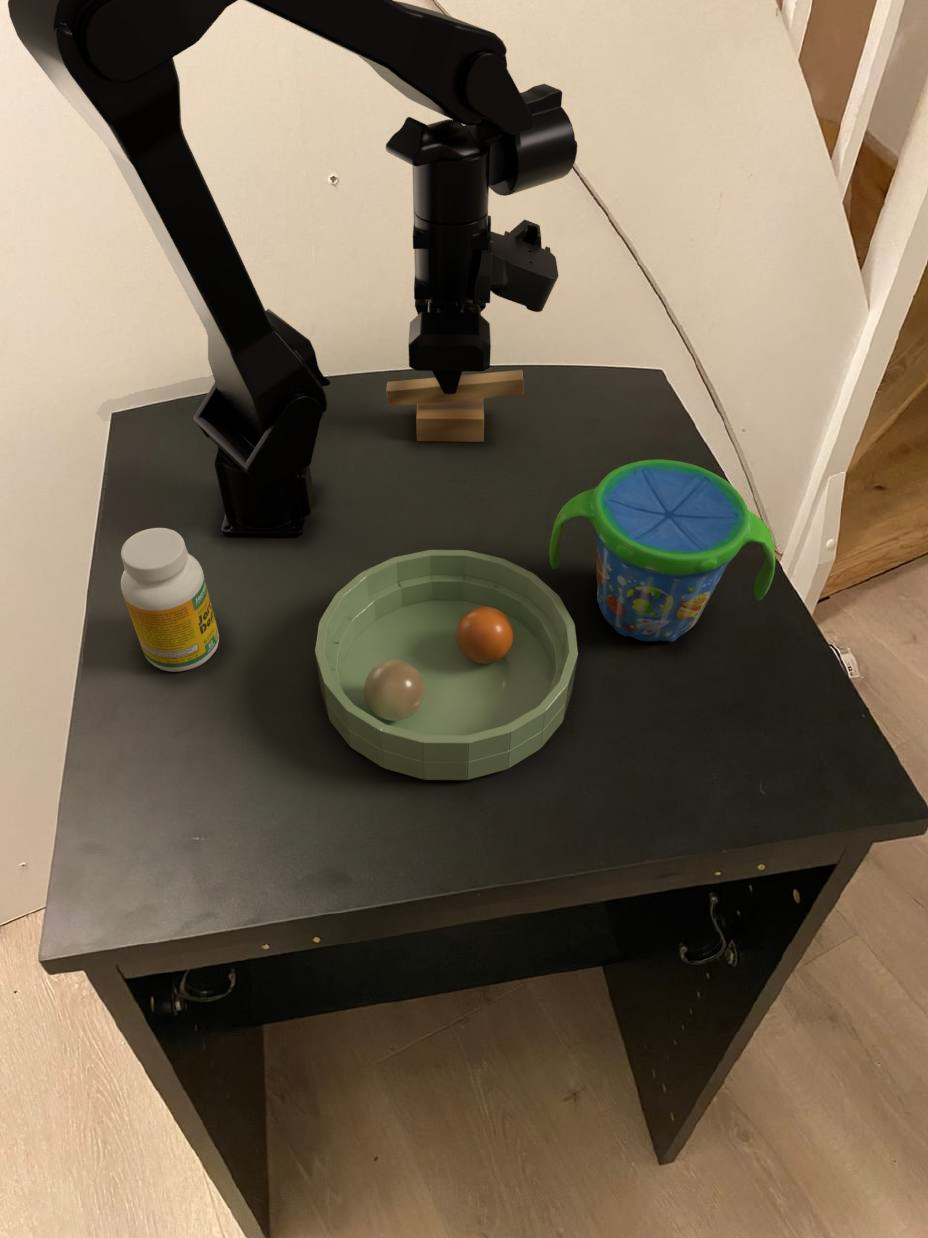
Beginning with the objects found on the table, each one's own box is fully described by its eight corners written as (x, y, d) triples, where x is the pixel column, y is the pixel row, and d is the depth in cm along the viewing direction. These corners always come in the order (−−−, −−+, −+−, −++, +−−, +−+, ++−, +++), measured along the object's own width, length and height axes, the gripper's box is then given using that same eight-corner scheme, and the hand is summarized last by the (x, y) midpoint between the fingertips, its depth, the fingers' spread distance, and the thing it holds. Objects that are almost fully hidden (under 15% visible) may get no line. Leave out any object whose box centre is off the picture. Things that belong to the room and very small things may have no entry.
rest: (416, 441, 85) (416, 418, 83) (418, 415, 88) (417, 392, 86) (483, 442, 85) (484, 418, 83) (482, 416, 88) (483, 393, 86)
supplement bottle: (145, 624, 69) (111, 524, 62) (219, 614, 70) (194, 514, 63) (143, 680, 65) (107, 580, 58) (221, 668, 66) (195, 569, 59)
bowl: (309, 784, 59) (301, 741, 56) (334, 592, 71) (329, 548, 68) (580, 785, 60) (588, 743, 56) (560, 594, 72) (566, 550, 68)
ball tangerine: (443, 660, 64) (446, 623, 67) (492, 684, 65) (493, 647, 68) (474, 622, 62) (476, 585, 65) (524, 648, 63) (524, 611, 66)
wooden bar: (389, 406, 83) (386, 391, 82) (390, 397, 85) (387, 381, 83) (524, 395, 83) (523, 379, 81) (523, 385, 84) (522, 369, 83)
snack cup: (759, 586, 72) (795, 481, 65) (745, 686, 66) (783, 582, 58) (562, 543, 76) (575, 438, 68) (529, 635, 69) (539, 529, 61)
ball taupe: (363, 716, 63) (415, 736, 62) (345, 697, 60) (400, 718, 59) (388, 664, 65) (440, 683, 63) (372, 642, 61) (426, 662, 60)
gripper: (565, 267, 65) (547, 451, 77) (548, 163, 78) (535, 333, 89) (405, 265, 65) (411, 450, 76) (414, 161, 78) (418, 332, 89)
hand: (449, 387), depth 83 cm, fingers closed on wooden bar, 2 cm apart
